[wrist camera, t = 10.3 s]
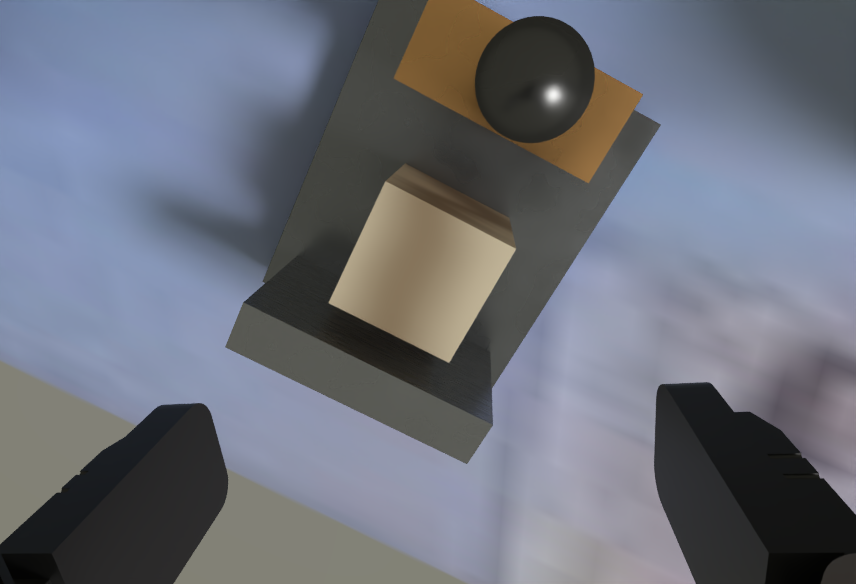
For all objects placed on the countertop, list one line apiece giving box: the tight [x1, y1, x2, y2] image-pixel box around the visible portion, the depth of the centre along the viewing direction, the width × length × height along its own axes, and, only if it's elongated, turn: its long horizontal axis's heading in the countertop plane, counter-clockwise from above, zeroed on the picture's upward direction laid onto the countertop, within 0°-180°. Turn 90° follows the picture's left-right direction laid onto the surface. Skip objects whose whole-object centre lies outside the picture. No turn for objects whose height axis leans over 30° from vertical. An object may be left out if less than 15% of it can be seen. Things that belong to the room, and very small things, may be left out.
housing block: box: [329, 164, 516, 363], centre depth 22 cm, size 5×5×5 cm
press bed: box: [226, 0, 660, 464], centre depth 21 cm, size 12×14×8 cm
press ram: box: [394, 0, 643, 183], centre depth 16 cm, size 7×3×11 cm, turn 63°
